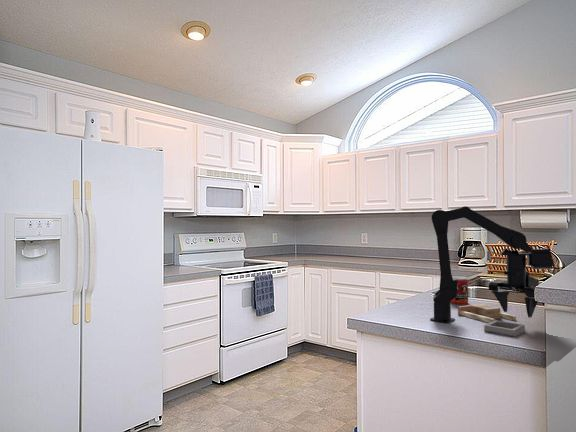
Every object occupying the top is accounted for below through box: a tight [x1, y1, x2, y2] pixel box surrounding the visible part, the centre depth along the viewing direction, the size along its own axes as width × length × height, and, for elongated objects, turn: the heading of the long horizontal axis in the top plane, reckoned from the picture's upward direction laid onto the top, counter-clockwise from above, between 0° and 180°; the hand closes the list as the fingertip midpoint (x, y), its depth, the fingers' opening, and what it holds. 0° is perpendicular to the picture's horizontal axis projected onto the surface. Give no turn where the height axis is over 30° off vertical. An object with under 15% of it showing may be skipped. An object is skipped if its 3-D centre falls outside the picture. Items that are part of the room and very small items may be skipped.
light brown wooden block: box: [470, 303, 501, 320], centre depth 152 cm, size 8×6×4 cm
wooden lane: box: [457, 303, 517, 324], centre depth 151 cm, size 16×11×3 cm
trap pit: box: [483, 319, 526, 338], centre depth 132 cm, size 9×9×2 cm
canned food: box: [450, 275, 469, 305], centre depth 178 cm, size 8×8×11 cm
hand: (517, 314), depth 140 cm, fingers open, 9 cm apart
